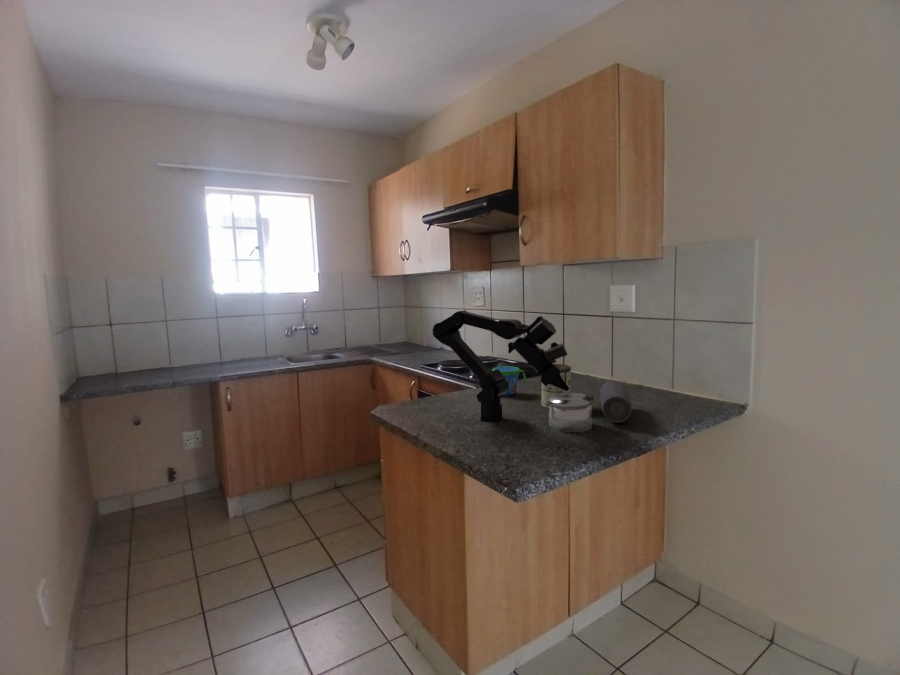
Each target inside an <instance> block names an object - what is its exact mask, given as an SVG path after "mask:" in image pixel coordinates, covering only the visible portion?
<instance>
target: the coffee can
mask: <svg viewBox="0 0 900 675" xmlns="http://www.w3.org/2000/svg"><path fill="white" fill-rule="evenodd" d="M552 365H559V367H560V370H561V373H560V375H561V377H562V378H563V380H564V381H565V383H566V384H567V386H568V387H569V390H568V391H565V390H563V389H561V388H558V387H556V386H553V385H551V384H548V385H547V386H545V385H544V384H543V383H542V382H541V398H540V399H541V402H540V403H541V406H542V407H544V408H546V409H549V405H547V402H546V398H547V397H550V396H552V395H556V394H562V393H571V372H572V371H571V369H572V366H570V365H568V364H561V363H553V364H552Z"/></svg>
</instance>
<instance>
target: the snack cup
mask: <svg viewBox="0 0 900 675" xmlns="http://www.w3.org/2000/svg"><path fill="white" fill-rule="evenodd" d="M496 369H498V370H499V371H500V372H501V373H502V375H503V376H505V377H506V380H507V382H508V390H507V392H506V393H504V396H513V395H515V394H516V393H517V389H518V388H517V387H518V381H519V380H518V379H519V375H520V373H522V376H523V386H525V385H526V384H527V377H526V376H527V375H526V373H525V372H524V370H522V369H520V368H519V367H517V366H508V365H507V366H506V365H505V366H495V367H494V368H492V369H491V370H492V371H494V370H496Z"/></svg>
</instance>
